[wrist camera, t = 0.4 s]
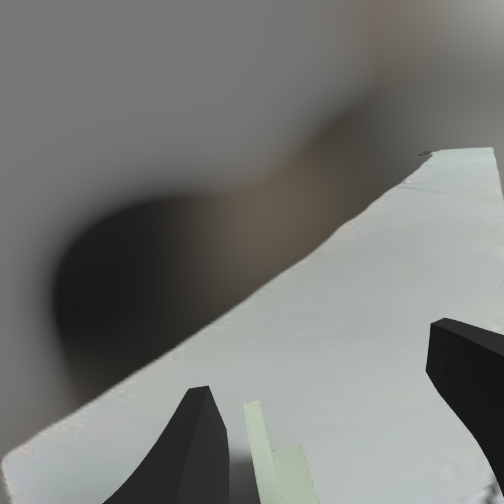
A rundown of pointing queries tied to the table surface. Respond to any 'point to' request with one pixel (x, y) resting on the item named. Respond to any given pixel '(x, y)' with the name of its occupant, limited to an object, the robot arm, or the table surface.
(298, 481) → the curved green slab
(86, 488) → the table surface
